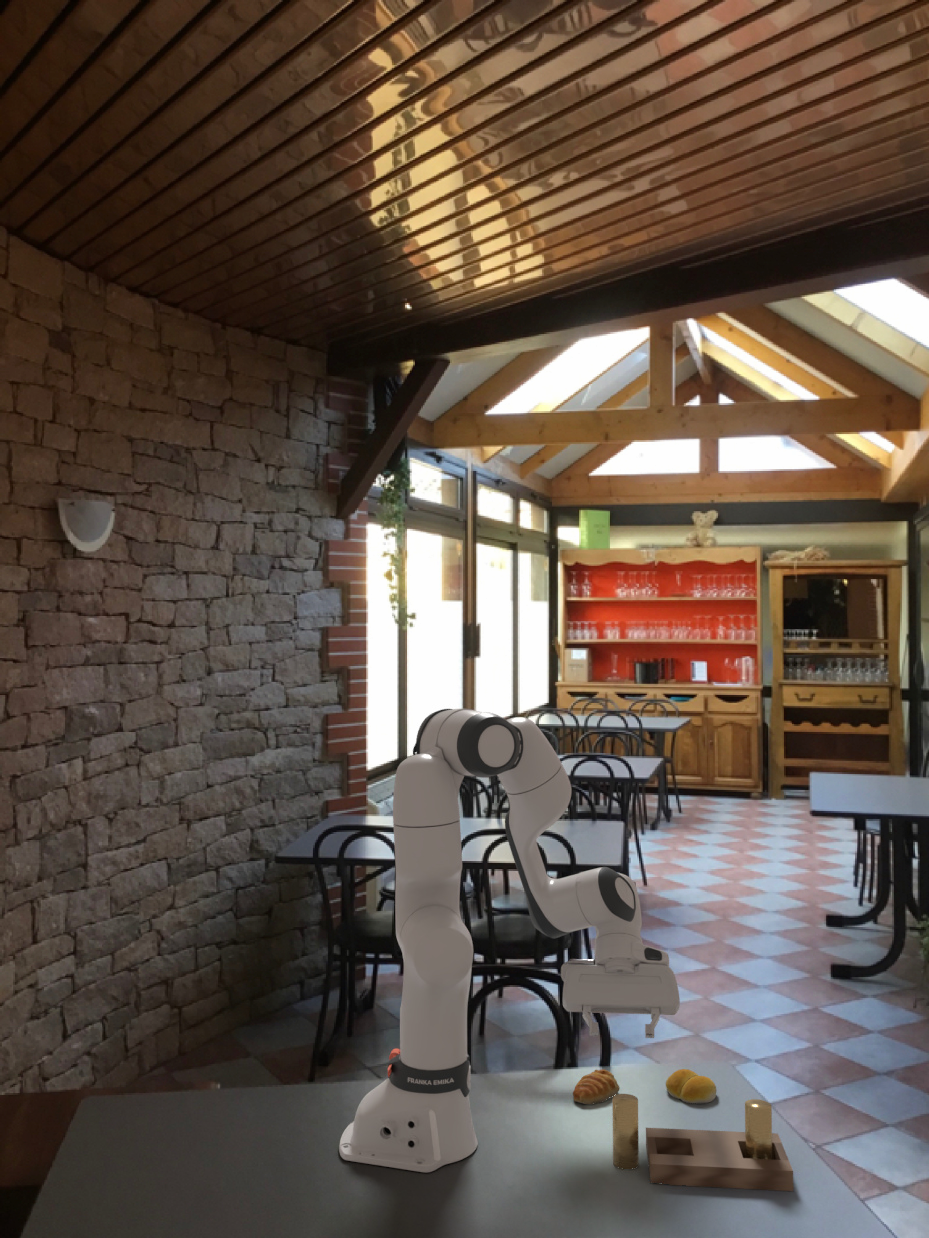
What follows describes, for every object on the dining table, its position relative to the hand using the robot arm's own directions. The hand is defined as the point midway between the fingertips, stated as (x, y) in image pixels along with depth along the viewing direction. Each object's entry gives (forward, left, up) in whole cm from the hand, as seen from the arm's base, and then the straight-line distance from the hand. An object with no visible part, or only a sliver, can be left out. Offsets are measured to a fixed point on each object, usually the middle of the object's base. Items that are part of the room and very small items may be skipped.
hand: (621, 1035), depth 176 cm
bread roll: (+13, +15, -16) cm, 25 cm away
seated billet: (+20, -12, -15) cm, 28 cm away
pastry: (-4, +12, -16) cm, 21 cm away
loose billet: (0, -12, -15) cm, 20 cm away
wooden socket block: (+14, -12, -15) cm, 24 cm away
